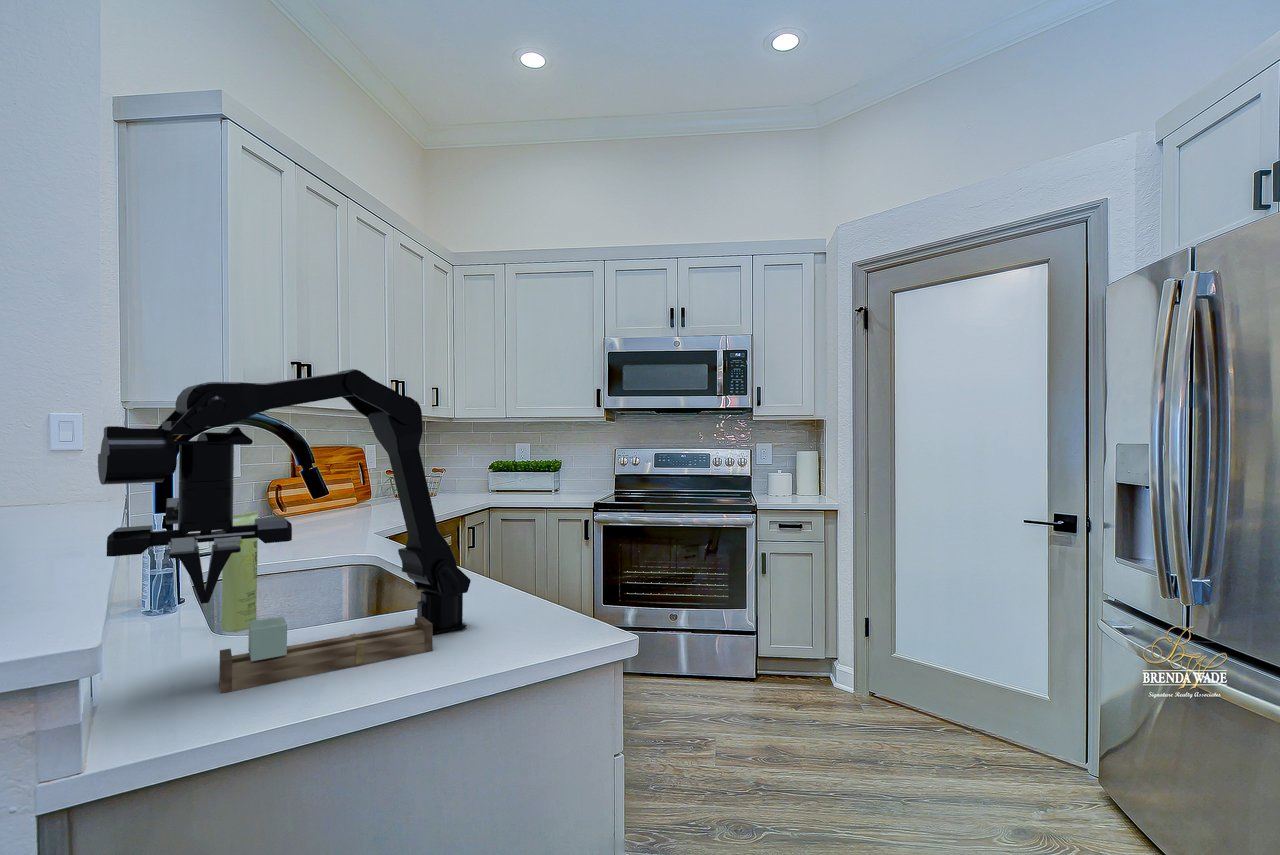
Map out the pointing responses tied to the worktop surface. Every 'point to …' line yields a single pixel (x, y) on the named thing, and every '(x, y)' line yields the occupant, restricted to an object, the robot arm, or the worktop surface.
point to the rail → (325, 656)
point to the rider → (267, 638)
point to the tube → (240, 581)
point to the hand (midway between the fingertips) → (204, 602)
